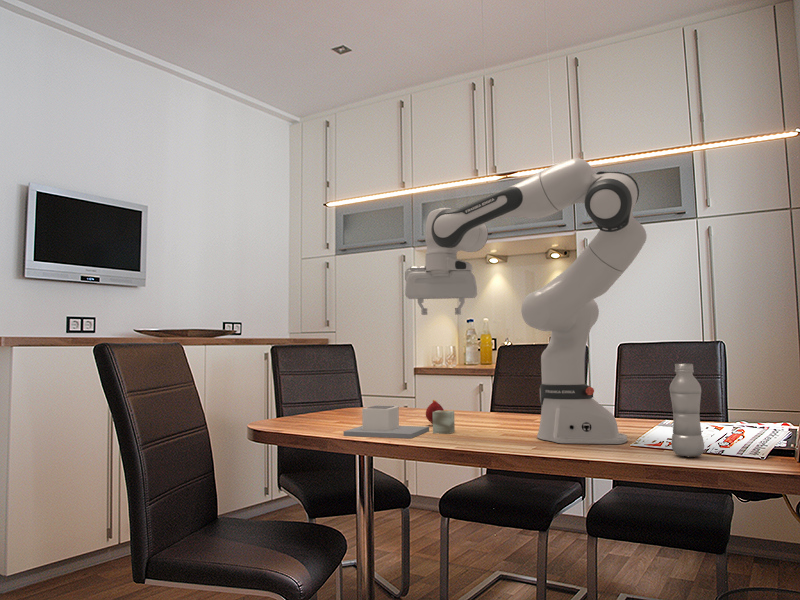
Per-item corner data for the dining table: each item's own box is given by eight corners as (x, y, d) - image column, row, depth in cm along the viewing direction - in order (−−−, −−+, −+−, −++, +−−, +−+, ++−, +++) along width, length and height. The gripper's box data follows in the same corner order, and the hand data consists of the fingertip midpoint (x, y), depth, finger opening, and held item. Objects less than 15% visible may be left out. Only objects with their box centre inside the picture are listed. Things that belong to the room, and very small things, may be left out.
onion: (444, 424, 195) (444, 398, 196) (444, 426, 190) (443, 400, 190) (426, 424, 196) (426, 399, 197) (425, 426, 190) (425, 400, 191)
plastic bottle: (694, 453, 138) (690, 363, 139) (711, 459, 131) (706, 364, 132) (666, 454, 137) (662, 363, 139) (681, 459, 131) (676, 364, 132)
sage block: (454, 431, 179) (454, 410, 179) (449, 434, 174) (449, 412, 175) (438, 431, 181) (437, 410, 181) (432, 433, 176) (432, 412, 176)
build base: (429, 430, 181) (428, 405, 182) (410, 438, 166) (410, 410, 167) (366, 428, 188) (366, 403, 189) (343, 435, 173) (343, 408, 174)
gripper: (402, 265, 174) (402, 314, 173) (475, 263, 170) (476, 313, 169) (406, 268, 180) (406, 315, 179) (477, 266, 177) (477, 315, 175)
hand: (441, 314), depth 174 cm, fingers open, 8 cm apart
